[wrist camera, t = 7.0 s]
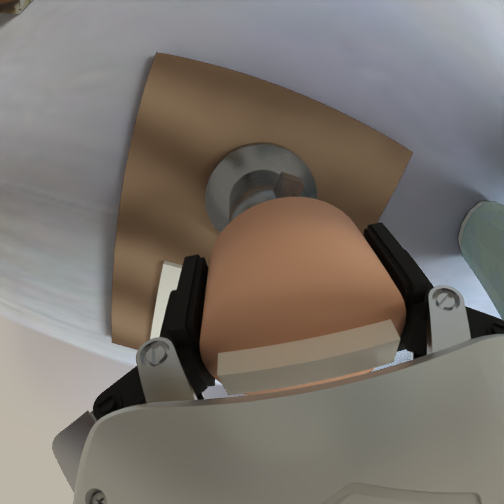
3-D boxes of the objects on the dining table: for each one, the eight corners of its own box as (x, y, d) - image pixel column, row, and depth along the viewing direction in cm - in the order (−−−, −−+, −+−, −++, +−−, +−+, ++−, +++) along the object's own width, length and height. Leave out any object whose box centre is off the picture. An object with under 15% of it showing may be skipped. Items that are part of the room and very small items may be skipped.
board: (160, 53, 14) (156, 52, 13) (406, 148, 18) (413, 152, 17) (114, 335, 27) (111, 342, 26) (274, 368, 31) (275, 375, 30)
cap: (364, 183, 10) (437, 260, 6) (360, 310, 13) (394, 393, 9) (188, 216, 10) (158, 314, 6) (230, 334, 14) (230, 425, 9)
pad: (164, 260, 21) (163, 263, 20) (288, 291, 23) (288, 294, 23) (149, 341, 26) (149, 344, 25) (247, 361, 28) (247, 364, 28)
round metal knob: (225, 127, 16) (221, 154, 10) (330, 164, 18) (376, 210, 12) (194, 225, 19) (179, 294, 14) (288, 251, 21) (308, 322, 15)
